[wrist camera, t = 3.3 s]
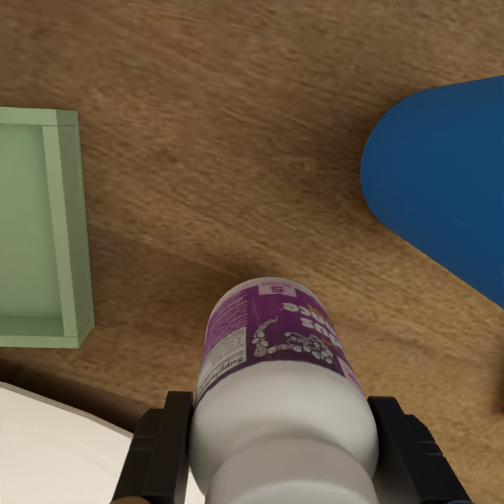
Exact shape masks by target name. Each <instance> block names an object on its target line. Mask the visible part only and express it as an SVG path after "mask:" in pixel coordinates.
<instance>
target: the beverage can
mask: <svg viewBox="0 0 504 504" xmlns="http://www.w3.org/2000/svg"><path fill="white" fill-rule="evenodd" d="M360 180H361V187H362V191H363V195H364V198H365V200H366V203H367V205H368V207H369V208H370V210H371V212H372V213H373V214H374V216H375V217H376V218H377V219H378V220H379V221H380V222H381V223H382V224H383V225H384V226H386V227H387V228H389V229H390V230H392V231H393V232H394V233H396V234H397V235H399V236H400V237H402V238H403V239H404V240H406V241H407V242H409V243H410V244H412V245H413V246H414V247H416V248H417V249H419V250H420V251H422V252H423V253H424V254H426V255H427V256H429V257H430V258H432V259H433V260H434V261H436V262H437V263H439V264H440V265H442V266H443V267H444V268H446V269H447V270H449V271H450V272H452V273H453V274H454V275H456V276H457V277H459V278H460V279H462V280H463V281H464V282H466V283H467V284H469V285H470V286H472V287H473V288H474V289H476V290H477V291H479V292H480V293H482V294H483V295H484V296H486V297H487V298H489V299H490V300H492V301H493V302H494V303H496V304H497V305H499V306H500V307H502V308H503V309H504V75H502V76H497V77H491V78H485V79H480V80H474V81H469V82H463V83H458V84H452V85H447V86H441V87H435V88H431V89H426V90H422V91H420V92H417V93H414V94H412V95H410V96H408V97H406V98H404V99H403V100H401V101H400V102H398V103H397V104H395V105H394V106H393V107H392V108H391V109H390V110H388V111H387V112H386V114H385V115H384V116H383V117H382V118H381V119H380V120H379V122H378V123H377V124H376V126H375V127H374V129H373V130H372V132H371V134H370V136H369V138H368V140H367V142H366V145H365V147H364V151H363V155H362V159H361V166H360Z"/></svg>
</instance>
